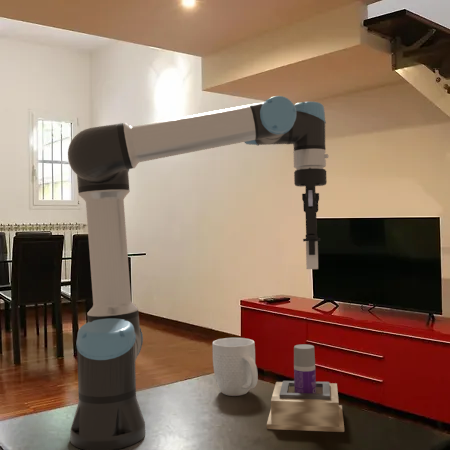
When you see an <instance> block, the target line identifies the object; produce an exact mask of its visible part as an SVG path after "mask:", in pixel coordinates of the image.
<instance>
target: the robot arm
mask: <svg viewBox="0 0 450 450" xmlns="http://www.w3.org/2000/svg"><path fill="white" fill-rule="evenodd" d="M326 124H327V122H326V115H325V106H324V104H322V103H321V102H318V101H301V102H297V103H293V101H292V100H290V99H289V98H287V97H285V96H283V95H275V96H271V97H269V98H268V99H266V100H265V101H262V102H261V101H260V102H258V103H252V104H246V105H240V106H235V107H230V108H225V109H224V108H223V109H219V110H213V111H208V112H202V113H198V114H197V113H196V114H193V115H192V114H191V115H187V116H181V117H175V118H169V119H165V120H159V121H158V120H157V121H153V122H148V123H141V124H136V125H130V124H129V123H127V122H120V123H115V124H108V125H107V124H106V125H102V126H101V125H100V126H94V127H89V128H85V129H83V130H81V131H79V132H78V133H77V134H76V135H75V136H74V137H73V138H72V139H71V141H70V144H69V146H68V149H67V160H68V164H69V166H70V168H71V170H72V171H73V172H74V173H75V175H76V180H77V192H78V193H77V194H78V196H79V197H80V198H82V200H84V201H85V209H86V220H87V221H86V222H87V233H88V236H87V237H88V249H89V262H90V277H91V278H90V279H91V291H92V303H93V305H92V307H91V308H90V309H89V311H88V312H86V313H87V316H86V317H87V322H86V323H84V324H83V325H82V326H80V327H79V328H78V331H77V337H76V342H75V343H76V345H75V346H76V350H77V351H76V352H77V383H78V384H77V386H78V387H77V388H78V392H77V393H78V403H77V406H76V409H75V414H74V416H73V421H72V424H71V426H70V443H71V445H72V446H73V447H75V448H77V449H81V450H118V449H119V450H120V449H123V448H126V447H130V446H132V445H134V444H137V443H139V442H140V441H142V440H143V439H144V437H145V436H146V422H145V418H144V416H143V412H142V410H141V407H140V405H139V402H138V398H137V389H136V388H137V387H136V386H137V384H136V381H137V379H136V378H137V376H136V360H137V358H138V356H139V355H140V352H141V349H142V346H143V340H144V338H143V331H142V328H141V327H140V326H141V325H140V316H139V315H140V314H139V313H140V312H139V307H138V306H136V305H135V304H134V303H133V301H132V297H131V295H132V294H131V283H130V280H131V279H130V271H129V270H130V269H129V257H128V242H127V231H126V230H127V227H126V215H125V202H124V201H125V198H126V197H127V195H128V194H129V193H130V180H129V179H130V176H129V172H130V170H131V169H135V168H136V167H137V166H138V164H139V163H143V162H147V161H154V160H158V159H162V158H163V159H164V158H168V157H175V156H178V155H179V156H180V155H184V154H189V153H193V152H195V153H196V152H199V151H204V150H205V151H206V150H209V149H215V148H219V147H220V148H221V147H226V146H230V145H234V144H235V145H237V144H240V143H241V144H242V143H244V144H245V145H254V146H261V145H262V146H263V145H265V146H267V145H293V153H292V154H293V168H294V169H296V170H294V173H293V174H294V175H293V177H294V178H293V179H294V185H295V186H296V187H300V188H301V187H305V192H304V193H302V194H301V198H302V199H301V200H302V202H303V212H304V213H305V238H302V241H303V242H305V252H306V253H305V256H306V257H305V258H306V259H305V261H306V264H305V265H306V270H319V245H318V244H319V242H320V241H321V238H320V237H318V233H317V232H318V224H317V213H318V212H319V201H320V193H319V192H316V187H323V186H326V185H327V170H326V169H324V168H326V166H327V160H326V159H329V154H328V153H326V152H327V151H326Z"/></svg>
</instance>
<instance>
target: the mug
mask: <svg viewBox="0 0 450 450" xmlns="http://www.w3.org/2000/svg"><path fill="white" fill-rule="evenodd" d="M255 345H256V344H255V341H254V340H253V339H250V338H245V337H225V338H218V339H216V340H213V341H212V366H213V367H212V368H213V373H214V379H215V382H216V384H217V388H218V389H219V390H220V393H222V394H223V395H225V396H228V397H229V396H232V397H236V396H237V397H238V396H239V397H240V396H244V395H246V394H247V393H248V392H249V390H251V389H254V388H256V386H257V385H258V378H259V376H258V367H257V364H256V346H255Z"/></svg>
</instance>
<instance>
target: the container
mask: <svg viewBox="0 0 450 450" xmlns="http://www.w3.org/2000/svg"><path fill="white" fill-rule="evenodd" d="M315 352H316V351H315V346H314V345H312V344H305V343H304V344H301V343H300V344H296V345H294V347H293V372H294V373H293V377H294V378H293V381H294V388H295V393H314V394H316V382H317V381H316V378H317V376H316V372H317V371H316V358H315V357H316V356H315V355H316V354H315Z"/></svg>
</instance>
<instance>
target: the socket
mask: <svg viewBox="0 0 450 450" xmlns="http://www.w3.org/2000/svg"><path fill="white" fill-rule="evenodd" d="M338 391H339V390H338V383H336V382H335V383H333V382H332V383H331V382H330V381H316V394H314V393H295V388H294V380H282V381H276V382H275V385H274V389H273V392H272V394H271V399H270V411H269V413H268V414H269V415H268V417H267V422H266V430H284V431H285V430H286V431H289V430H290V431H309V432H333V433H334V432H335V433H336V432H337V433H344V432H345V425H344V424H345V423H344V414H343V405H342V404H340V403H339V394H338V393H339V392H338Z"/></svg>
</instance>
